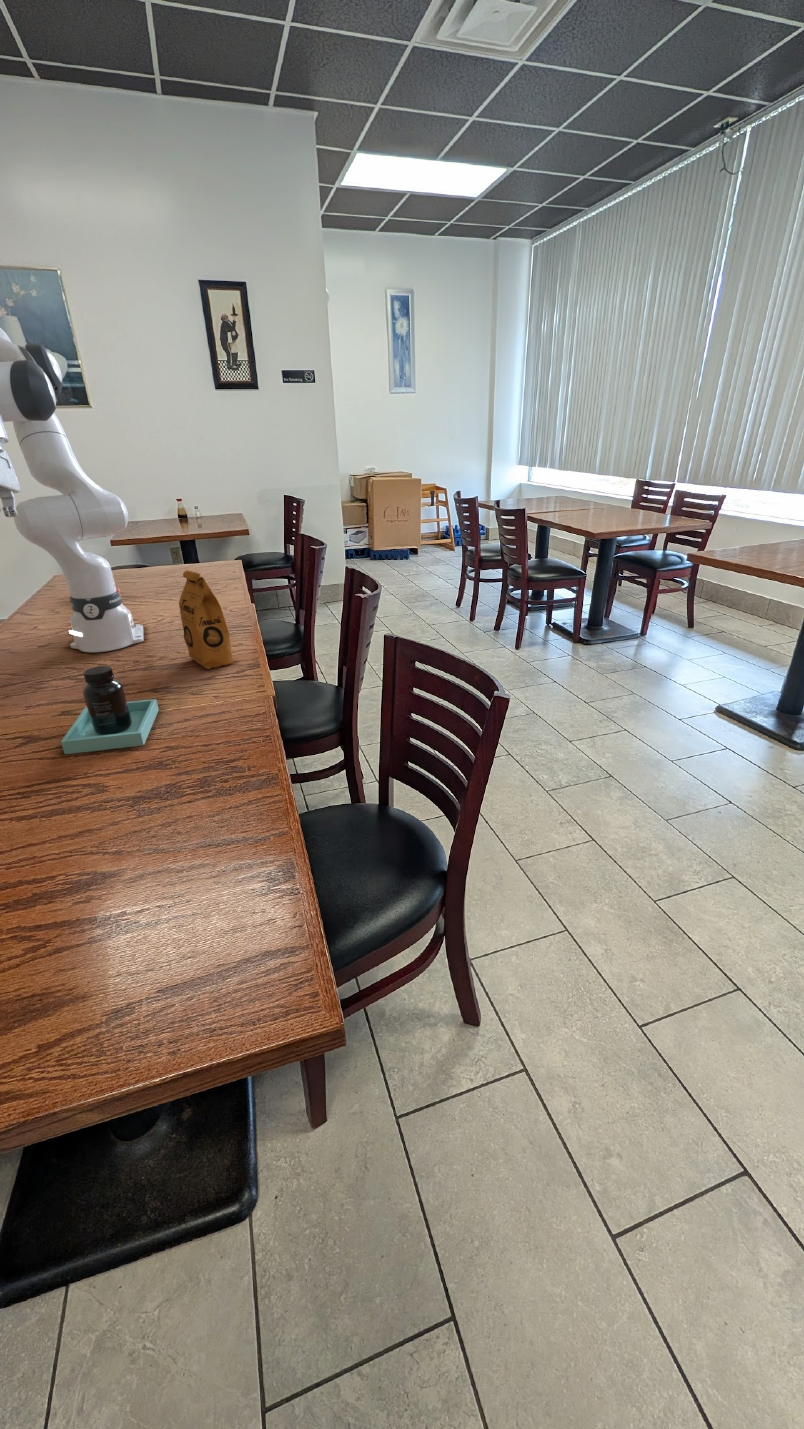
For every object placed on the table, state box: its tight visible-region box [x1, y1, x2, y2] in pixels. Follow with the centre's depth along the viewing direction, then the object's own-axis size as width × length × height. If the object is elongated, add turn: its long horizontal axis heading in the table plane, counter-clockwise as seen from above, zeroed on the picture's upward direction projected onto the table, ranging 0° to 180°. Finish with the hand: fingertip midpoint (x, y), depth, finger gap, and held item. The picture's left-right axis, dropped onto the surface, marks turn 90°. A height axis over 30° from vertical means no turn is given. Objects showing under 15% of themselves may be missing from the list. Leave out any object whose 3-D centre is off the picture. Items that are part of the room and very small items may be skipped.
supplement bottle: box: [82, 665, 132, 735], centre depth 111 cm, size 7×7×12 cm
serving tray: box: [60, 698, 160, 755], centre depth 113 cm, size 16×14×3 cm
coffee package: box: [178, 569, 234, 670], centre depth 142 cm, size 10×12×22 cm
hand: (3, 515), depth 105 cm, fingers open, 8 cm apart
